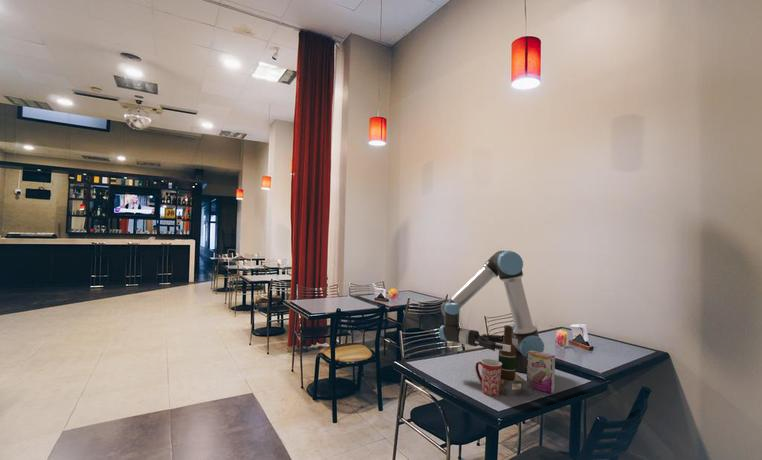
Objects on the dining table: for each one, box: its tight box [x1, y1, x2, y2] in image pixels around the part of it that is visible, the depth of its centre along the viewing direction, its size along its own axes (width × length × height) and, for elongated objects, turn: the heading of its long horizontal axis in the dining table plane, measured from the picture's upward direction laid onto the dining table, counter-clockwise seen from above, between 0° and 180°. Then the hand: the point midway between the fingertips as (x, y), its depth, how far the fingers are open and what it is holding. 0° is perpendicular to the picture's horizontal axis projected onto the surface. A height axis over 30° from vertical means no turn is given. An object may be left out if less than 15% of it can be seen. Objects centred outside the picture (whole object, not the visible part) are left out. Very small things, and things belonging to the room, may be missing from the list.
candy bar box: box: [526, 350, 556, 395], centre depth 163 cm, size 11×5×16 cm, turn 49°
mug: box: [475, 358, 502, 397], centre depth 158 cm, size 13×9×14 cm
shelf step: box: [499, 372, 533, 396], centre depth 163 cm, size 13×16×6 cm
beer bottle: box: [497, 325, 516, 381], centre depth 165 cm, size 8×8×24 cm
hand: (514, 345), depth 163 cm, fingers open, 13 cm apart
